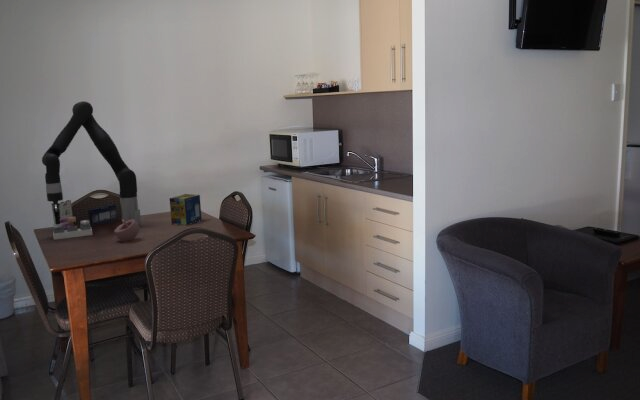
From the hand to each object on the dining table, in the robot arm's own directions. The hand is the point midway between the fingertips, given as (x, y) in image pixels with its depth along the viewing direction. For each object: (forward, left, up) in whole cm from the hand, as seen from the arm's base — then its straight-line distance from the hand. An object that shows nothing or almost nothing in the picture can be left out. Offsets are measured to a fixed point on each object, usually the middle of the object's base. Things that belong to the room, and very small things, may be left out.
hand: (58, 223), depth 295 cm
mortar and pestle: (-43, +4, -8) cm, 44 cm away
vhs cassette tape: (-1, -37, -8) cm, 38 cm away
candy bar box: (+13, -20, -8) cm, 25 cm away
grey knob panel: (-5, -4, -8) cm, 10 cm away
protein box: (-53, -41, -8) cm, 68 cm away
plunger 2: (-10, -8, -4) cm, 14 cm away
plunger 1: (0, 0, -4) cm, 4 cm away
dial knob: (-5, -4, -2) cm, 7 cm away
